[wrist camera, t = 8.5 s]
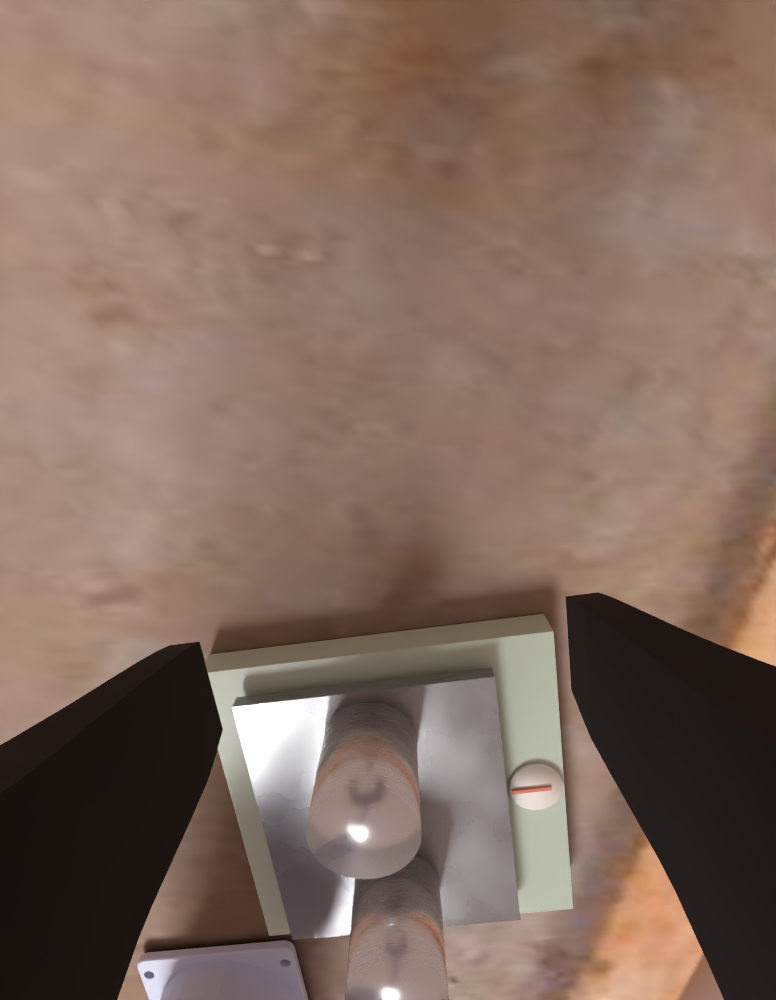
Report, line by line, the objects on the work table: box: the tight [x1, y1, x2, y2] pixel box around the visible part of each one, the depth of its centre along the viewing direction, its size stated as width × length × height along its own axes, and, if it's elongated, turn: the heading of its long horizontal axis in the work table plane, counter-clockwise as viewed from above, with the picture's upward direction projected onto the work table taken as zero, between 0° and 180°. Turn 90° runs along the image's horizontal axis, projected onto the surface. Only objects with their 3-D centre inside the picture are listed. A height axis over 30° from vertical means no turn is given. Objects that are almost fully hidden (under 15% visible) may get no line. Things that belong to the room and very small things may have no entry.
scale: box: [205, 614, 573, 936], centre depth 22 cm, size 14×14×2 cm
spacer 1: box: [306, 702, 422, 879], centre depth 18 cm, size 4×4×4 cm
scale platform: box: [232, 667, 520, 940], centre depth 21 cm, size 12×10×2 cm
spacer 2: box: [345, 856, 449, 1000], centre depth 19 cm, size 4×4×4 cm
